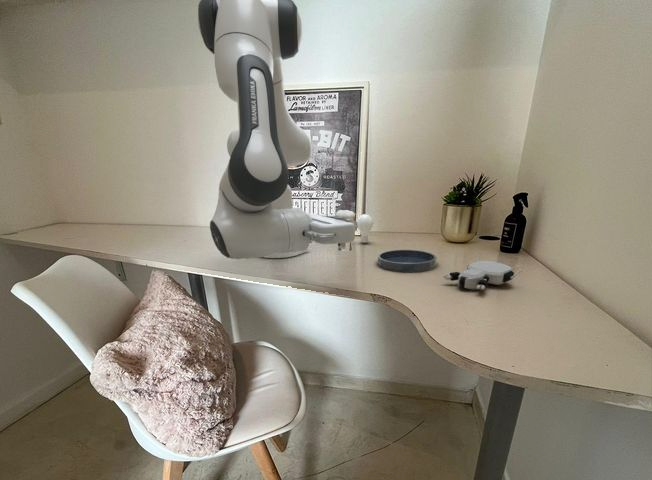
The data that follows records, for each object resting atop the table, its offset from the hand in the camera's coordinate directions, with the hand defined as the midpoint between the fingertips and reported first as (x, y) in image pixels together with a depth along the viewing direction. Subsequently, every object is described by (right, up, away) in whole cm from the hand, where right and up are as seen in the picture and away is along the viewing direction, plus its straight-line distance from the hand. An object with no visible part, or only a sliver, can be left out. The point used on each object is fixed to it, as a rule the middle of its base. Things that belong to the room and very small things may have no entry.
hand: (349, 223), depth 76 cm
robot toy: (+32, -14, +6) cm, 36 cm away
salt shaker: (-1, -6, +2) cm, 6 cm away
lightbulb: (+8, +7, +54) cm, 55 cm away
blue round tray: (+18, -6, +25) cm, 31 cm away
